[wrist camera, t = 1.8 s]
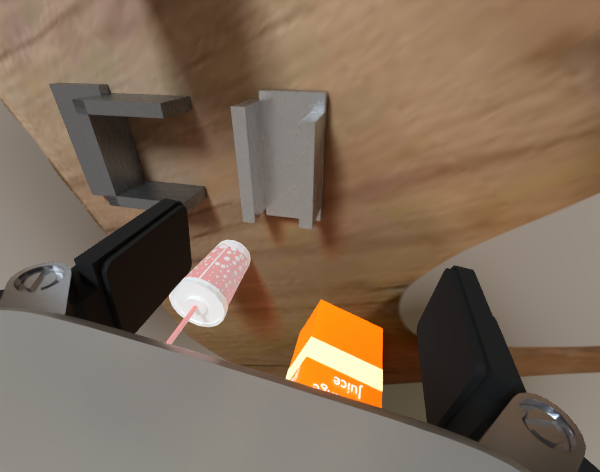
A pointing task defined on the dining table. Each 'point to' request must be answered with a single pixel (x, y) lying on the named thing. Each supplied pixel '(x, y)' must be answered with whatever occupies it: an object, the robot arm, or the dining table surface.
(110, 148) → the fixed leaf
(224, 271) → the beverage cup
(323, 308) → the orange juice
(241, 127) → the gray u-channel trough
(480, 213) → the dining table surface
